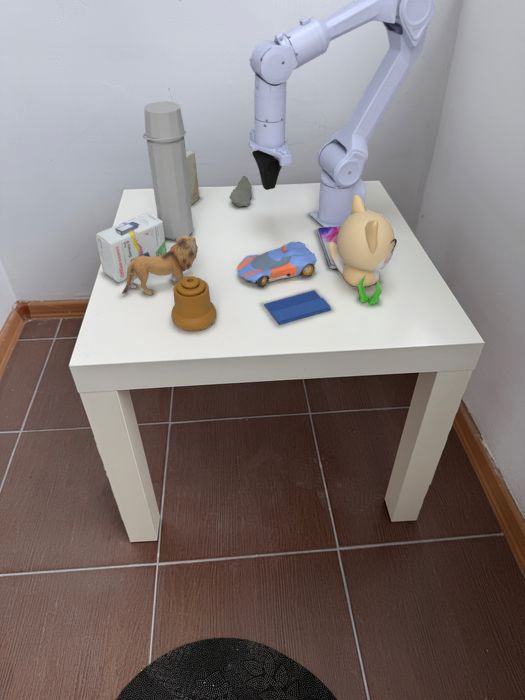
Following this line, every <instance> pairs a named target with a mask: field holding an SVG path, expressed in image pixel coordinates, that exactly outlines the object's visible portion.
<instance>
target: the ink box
mask: <svg viewBox="0 0 525 700" xmlns="http://www.w3.org/2000/svg"><path fill="white" fill-rule="evenodd" d="M95 240H96V246H97V251H98V255H99V260H100V264H101V269H102V272H103V273H104V274H105V275H106V276H108V277H110V278H111V279H112V280H114V281H115V282H117V283H121V282H123V281H125V280H127V271H128V267H129V264H130V262H131V261H132V260H133V259H135V258H136V257H139V256H149V257H156V256H162V255H165V254H166V253H167V252H168V251H167V245H166V238H165V236H164V229H163V221H161V220H160V219H158V216H157V217H156V216H155V215H153V214H151V213H150V212H145V213H143V214H141V215H138V216H136V217H133V218H131V219H128V220H126V221H124V222H121V223H119V224H116V225H114V226H111V227H109V228H106V229H104V230H102V231H98V232H97V233H96V234H95ZM132 271H133V269H132ZM132 271H131V274H132Z"/></svg>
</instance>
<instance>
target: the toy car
mask: <svg viewBox="0 0 525 700" xmlns="http://www.w3.org/2000/svg"><path fill="white" fill-rule="evenodd" d="M316 263H317V257H316V254H315V253H314V252H312V251H311V250H310V249H309V248H308V247H307V246H306V243H305V242H302V241H291V242H288V243H286V244H283V245H281V246H280V247H278V248H275V249H271V250H267V251H265V252H263V253H261V254H254V255H251V254H250V255H246V256H245V257H244V258H243V259H242V260H241V262H239V264H238V265H237V267H236V271H237V273H238V275H239V276H240V277H241V278H242V279H244V280H245V281H247V282H249V283H252V284H257V286H259V287H262V288H263V287H264V286H266V284H267V282H268V283H271V282H274V281H277V280H281V279H287V278H293V277H297V276H299V275H301V276H302V277H305V278H306V277H310V276H312V275H313V274H314V272H315V269H316V267H315V266H316ZM256 282H257V283H256Z"/></svg>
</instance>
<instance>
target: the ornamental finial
mask: <svg viewBox="0 0 525 700" xmlns="http://www.w3.org/2000/svg"><path fill="white" fill-rule="evenodd" d="M172 291H173V302H174V305H173V306H172V309H171V313H170V314H171V315H170V316H171V321H172V322H173V323H174V325H175V326H177V328H179V329H181V330H182V331H188V332H198V331H202V330H204V329H207V328H208V327H210V326H211V325H212V324H213V323H214V322H215V320H216V318H217V309H216V307H215V305H214V303H213V302H212V300H211V294H210V286H209V283H208V282H206V281H205V280H204V279H202V278H200V277H196V276H194V275H189V276H185V277H183V279H181V280H180V281H179V282H178V283H177V282H175V284H174V286H173V288H172Z"/></svg>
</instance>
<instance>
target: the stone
mask: <svg viewBox="0 0 525 700" xmlns="http://www.w3.org/2000/svg"><path fill="white" fill-rule="evenodd" d="M252 188H253V187H252V184H251V182H250V180H249V178H248V176H246V175H243V176H242V177H241V178H240V180H239V181H238V182H237V185H236V186H235V188H234V189H232V191H231V193H230V195H229V197H228V198H229V199H230V201H231V202H232V203H233V204H234V205H235V206H236V207H238V208H242V207H249V206H250V205H251V199H252V191H251V190H252Z"/></svg>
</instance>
